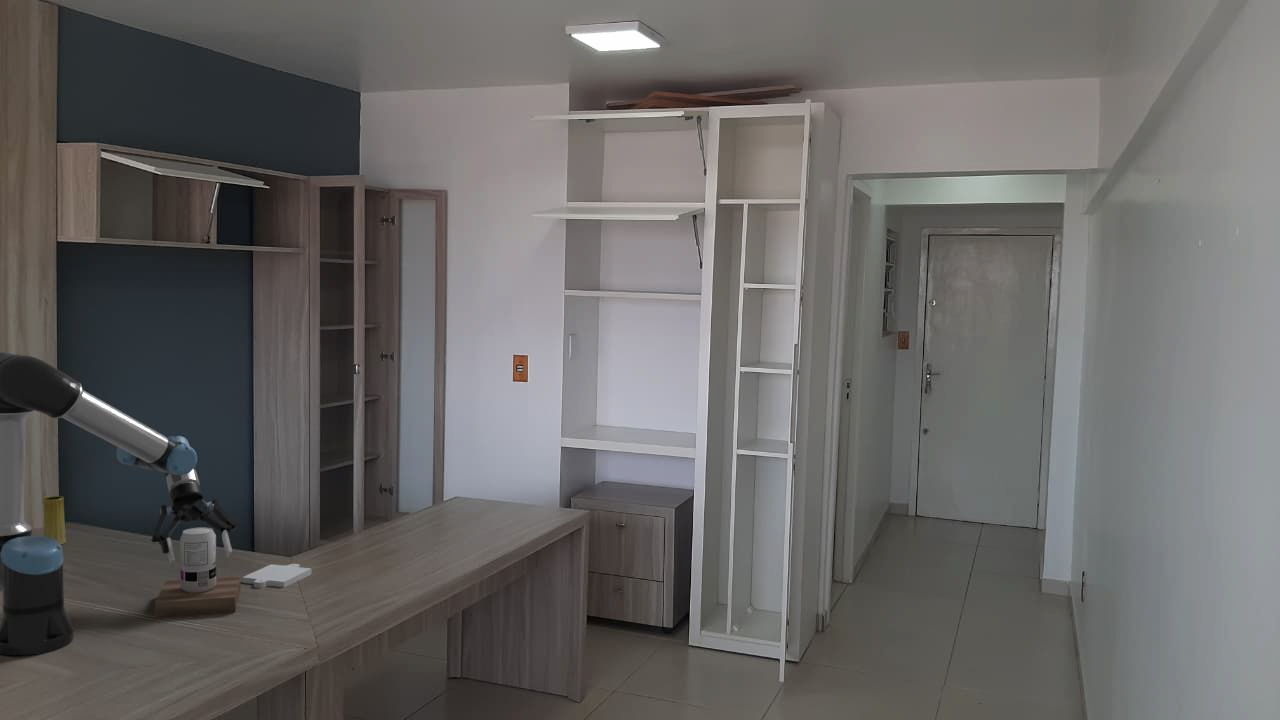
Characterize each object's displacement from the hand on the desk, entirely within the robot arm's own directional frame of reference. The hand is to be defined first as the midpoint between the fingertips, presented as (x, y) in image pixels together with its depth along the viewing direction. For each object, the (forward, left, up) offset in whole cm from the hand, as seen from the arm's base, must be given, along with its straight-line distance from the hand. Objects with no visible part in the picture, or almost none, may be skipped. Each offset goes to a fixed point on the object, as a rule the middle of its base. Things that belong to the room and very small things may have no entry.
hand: (201, 558), depth 246 cm
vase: (+72, +49, -12) cm, 88 cm away
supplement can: (+2, +1, -8) cm, 9 cm away
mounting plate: (+20, -17, -13) cm, 29 cm away
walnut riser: (+2, +1, -12) cm, 12 cm away
